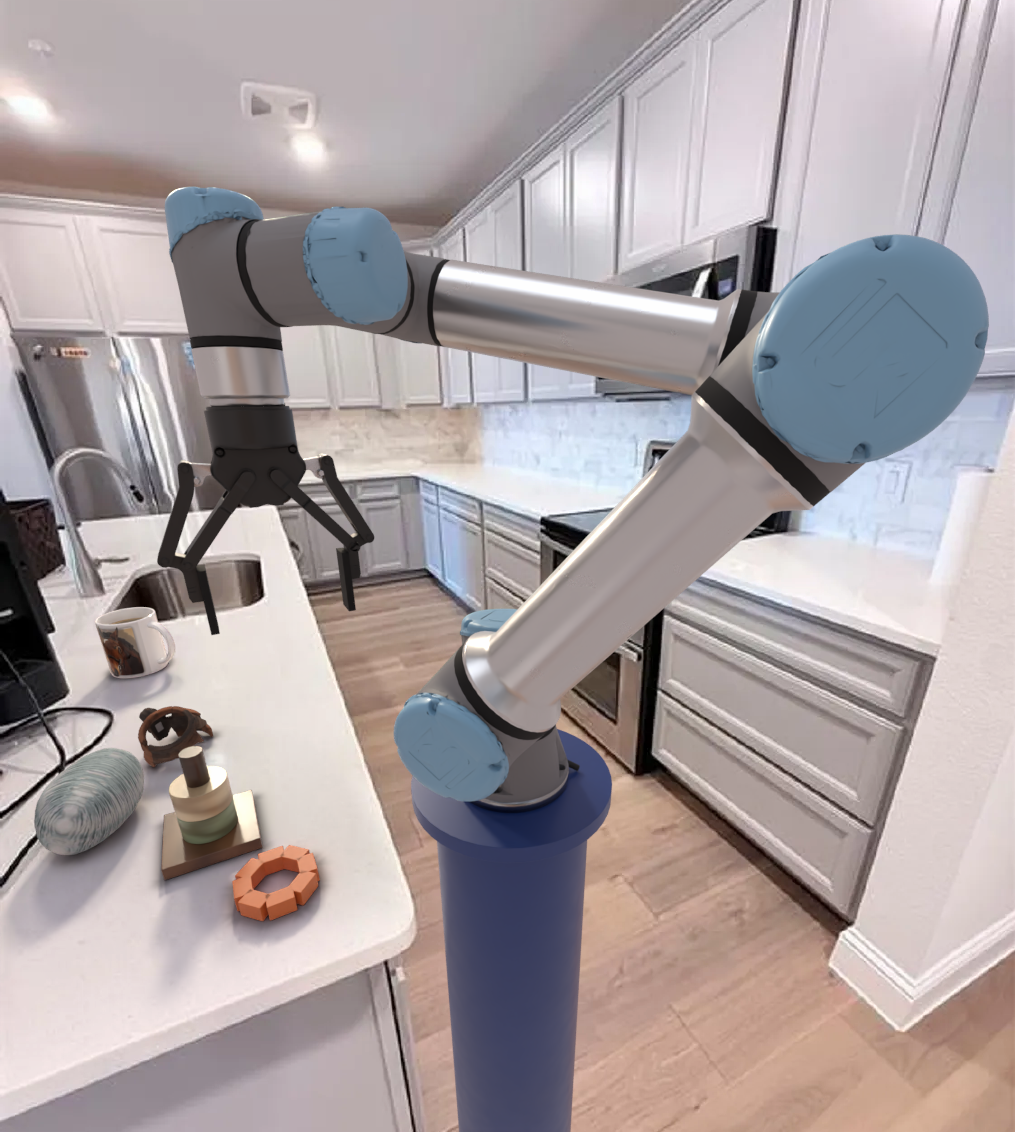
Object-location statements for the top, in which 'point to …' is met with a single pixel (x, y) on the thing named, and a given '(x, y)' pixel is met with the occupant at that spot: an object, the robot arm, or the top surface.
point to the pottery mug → (160, 725)
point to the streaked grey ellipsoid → (88, 801)
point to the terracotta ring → (280, 900)
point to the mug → (134, 642)
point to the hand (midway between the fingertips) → (285, 618)
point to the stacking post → (206, 818)
